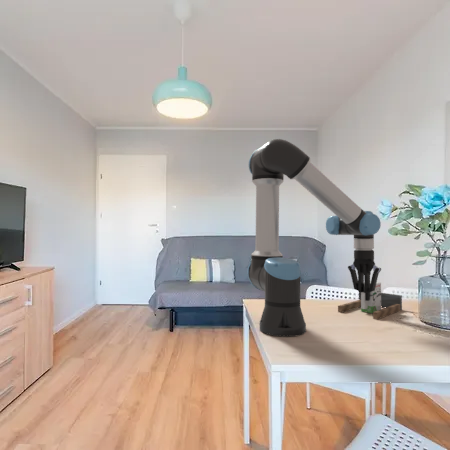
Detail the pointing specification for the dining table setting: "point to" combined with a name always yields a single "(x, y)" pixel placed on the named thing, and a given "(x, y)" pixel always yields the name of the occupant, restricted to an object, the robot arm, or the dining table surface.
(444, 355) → the dining table surface
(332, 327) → the dining table surface
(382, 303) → the guide channel
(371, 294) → the ink box
